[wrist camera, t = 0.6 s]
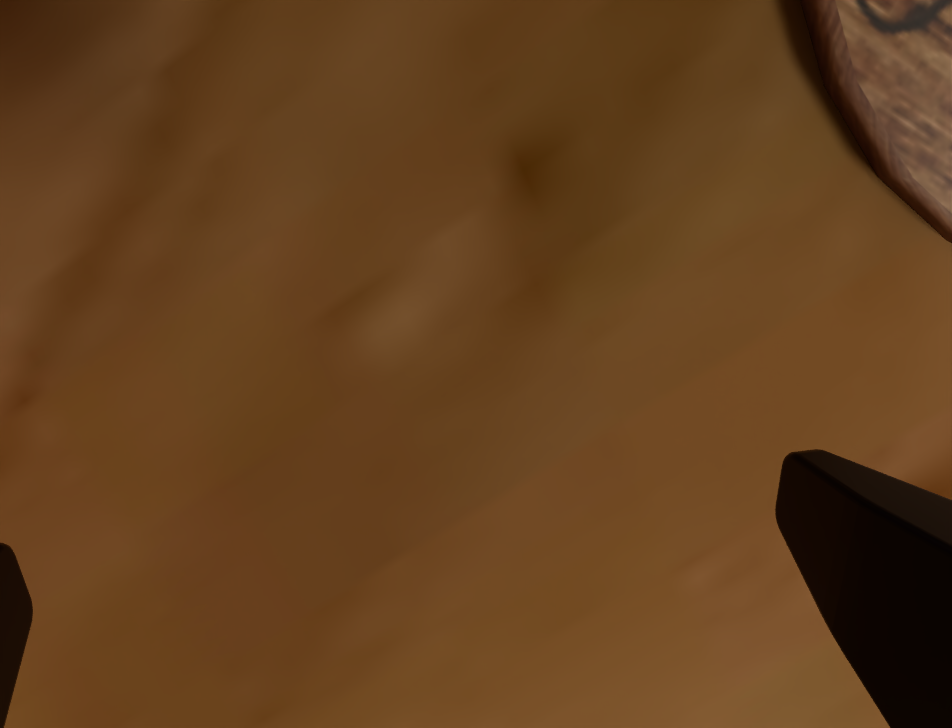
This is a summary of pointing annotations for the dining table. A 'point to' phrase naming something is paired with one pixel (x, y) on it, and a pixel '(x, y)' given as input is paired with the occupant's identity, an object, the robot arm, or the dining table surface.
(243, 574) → the dining table surface
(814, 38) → the trivet
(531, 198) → the dining table surface
